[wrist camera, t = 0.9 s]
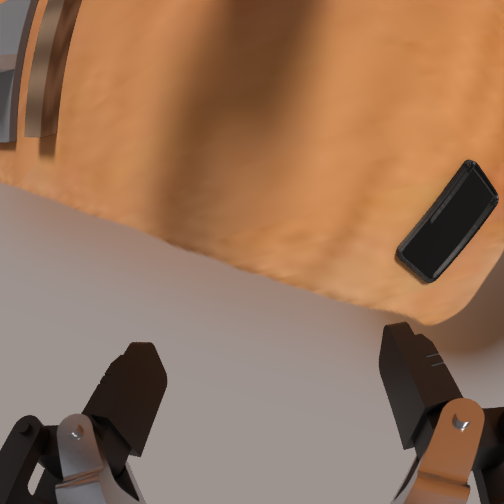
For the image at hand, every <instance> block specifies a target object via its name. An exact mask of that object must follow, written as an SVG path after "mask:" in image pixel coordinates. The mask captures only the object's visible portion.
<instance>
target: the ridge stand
mask: <svg viewBox="0 0 504 504" xmlns="http://www.w3.org/2000/svg"><path fill="white" fill-rule="evenodd" d="M37 3H38V0H8V1H6V2H4V3H2V4H0V142H12V141H15V140H17V114H18V100H19V90H20V82H21V74H22V68H23V62H24V56H25V51H26V46H27V41H28V37H29V32H30V28H31V24H32V20H33V17H34V13H35V10H36V7H37Z"/></svg>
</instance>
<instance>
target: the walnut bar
mask: <svg viewBox="0 0 504 504" xmlns="http://www.w3.org/2000/svg"><path fill="white" fill-rule="evenodd" d="M81 2H82V0H48V3H47V6H46V9H45V12H44V16H43V19H42V23H41V26H40V30H39V34H38V38H37V42H36V47H35V52H34V57H33V62H32V67H31V73H30V80H29V87H28V95H27V105H26V117H25V134H24V137H38V138H41V137H44V136H48V135H52V134H55V133H57V129H58V116H59V106H60V98H61V90H62V83H63V77H64V71H65V65H66V60H67V55H68V50H69V46H70V41H71V37H72V33H73V29H74V26H75V22H76V18H77V15H78V11H79V8H80V5H81Z"/></svg>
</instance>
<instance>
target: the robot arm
mask: <svg viewBox="0 0 504 504" xmlns="http://www.w3.org/2000/svg"><path fill="white" fill-rule="evenodd" d="M379 370H380V375H381V378H382V381H383V383H384V386H385V390H386V393H387V396H388V399H389V402H390V405H391V408H392V411H393V415H394V418H395V421H396V424H397V428H398V431H399V434H400V438H401V441H402V445H403V449H404V450H405V449H409V448H413V447H415V450H416V454H417V455H416V457H415V459H414V461H413V463H412V465H411V467H410V469H409V471H408V473H407V475H406V477H405V478H404V480H403V482H402V484H401V486H400V488H399V489H398V491H397V493H396V495H395V496H394V498H393V500H392V501H391V503H390V504H466V502H467V500H468V497H469V494H470V486H469V485H467V481H468V477H469V475H470V472H471V471H473V473H474V477H475V481H476V485H477V489H478V493H479V497H480V502H481V504H504V407H498V408H487V409H486V408H485V409H483V408H481V407H480V405H479V404H478V403H476V402H475V401H473V400H471V399H466V398H463V396H462V395H461V392H460V390H459V389H458V387H457V385H456V383H455V381H454V379H453V377H452V376H451V374H450V372H449V370H448V368H447V367H446V365H445V364H444V363H443V360H442V358H441V356H440V355H439V354H438V351H437V349H436V347H435V346H434V344H433V343H432V341H430V340H429V339H428V338H426V337H425V336H424V335H422V334H417V335H414V333H413V331H412V329H411V328H410V326H409V324H408V323H407V322H401V323H395V324H390V325H386V326H385V327H384V330H383V337H382V344H381V350H380V356H379ZM166 387H167V374H166V371H165V369H164V367H163V365H162V362H161V360H160V358H159V355H158V353H157V351H156V348H155V346H154V345H153V344H152V343H150V342H146V343H145V342H132V343H131V344H130V345H129V346H128V348H127V350H126V351H125V353H124V355H120V356H119V357H118V358H117V359H116V360H114V361H113V362H112V363H111V364H110V366H109V368H108V369H107V371H106V373H105V376H103V377H102V379H101V381H100V384H98V386H97V388H96V390H95V391H94V393H93V395H92V396H91V398H90V400H89V401H88V403H87V405H86V407H85V408H84V410H83V412H82V413H81V414H73V415H70V416H68V417H67V418H65V419H64V420H63V421H62V422H61V423H60V425H56V426H54V425H53V426H44V425H43V424H42V423H41V422H40V421H39V419H38V418H37V417H35V416H32V415H28V416H24V417H22V418H21V419H20V420H19V421H17V422H16V424H15V425H14V427H13V429H12V431H11V432H10V434H9V436H8V438H7V439H6V441H5V443H4V445H3V447H2V449H1V450H0V504H146V502H145V500H144V498H143V496H142V494H141V492H140V489H139V487H138V485H137V483H136V480H135V478H134V475H133V473H132V470H131V468H130V466H129V464H128V462H127V458H128V455H133V456H138V457H141V455H142V452H143V449H144V446H145V443H146V441H147V438H148V435H149V433H150V430H151V427H152V424H153V422H154V419H155V416H156V414H157V411H158V408H159V405H160V403H161V400H162V398H163V395H164V392H165V390H166ZM37 462H38V463H39V464H40V465H41V466H42V467H44V468H45V469H44V472H43V474H42V477H41V479H40V481H39V483H38V486H37V488H36V491H35V493H34V495H31V494H30V493H29V491H28V482H29V480H30V477H31V475H32V473H33V471H34V469H35V466H36V464H37Z"/></svg>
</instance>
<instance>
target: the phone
mask: <svg viewBox="0 0 504 504" xmlns="http://www.w3.org/2000/svg"><path fill="white" fill-rule="evenodd" d="M498 200H499V197H498V194H497V192H496V190H495V189H494V187H493V186H492V184H491V183H490V181H489V180H488V178H487V177H486V175H485V174H484V172H483V171H482V169H481V168H480V167H479V165H478V164H477V163H476V162H475V161H472V160H466V161H465V162H464V163H463V164H462V166H461V167H460V169H459V170H458V171H457V173H456V174H455V175H454V177H453V178H452V180H451V181H450V182H449V184H448V185H447V186H446V188H445V189H444V190H443V192H442V193H441V194H440V196H439V197H438V198H437V200H436V201H435V202H434V203H433V205H432V206H431V207H430V208H429V210H428V211H427V212H426V213H425V215H424V216H423V217H422V218H421V220H420V221H419V222H418V223H417V224H416V226H415V227H414V228H413V229H412V230H411V232H410V233H409V234H408V235H407V236H406V238H405V239H404V240H403V241H402V242H401V243H400V245H399V246H398V248H397V255H398V257H399V258H400V259H401V261H403V262H404V263H405V264H406V265H407V266H408V267H410V268H411V269H412V270H413V271H414V272H415V273H417V274H418V275H419V276H420V277H421V278H422V279H423V280H425V281H426V282H427V283H432V282H434V281H436V280H437V279H438V278H439V276H440V275H441V274H442V273H443V272H444V271H445V270H446V269H447V268H448V266H449V265H450V264H451V263H452V262H453V261H454V260H455V258H456V257H457V256H458V255H459V254H460V252H461V251H462V250H463V249H464V248H465V246H466V245H467V244H468V243H469V242H470V240H471V239H472V238H473V237H474V235H475V234H476V233H477V231H478V230H479V229H480V227H481V226H482V225H483V224H484V222H485V221H486V219H487V218H488V217H489V215H490V214H491V213H492V211H493V210H494V208H495V207H496V206H497V204H498Z"/></svg>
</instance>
